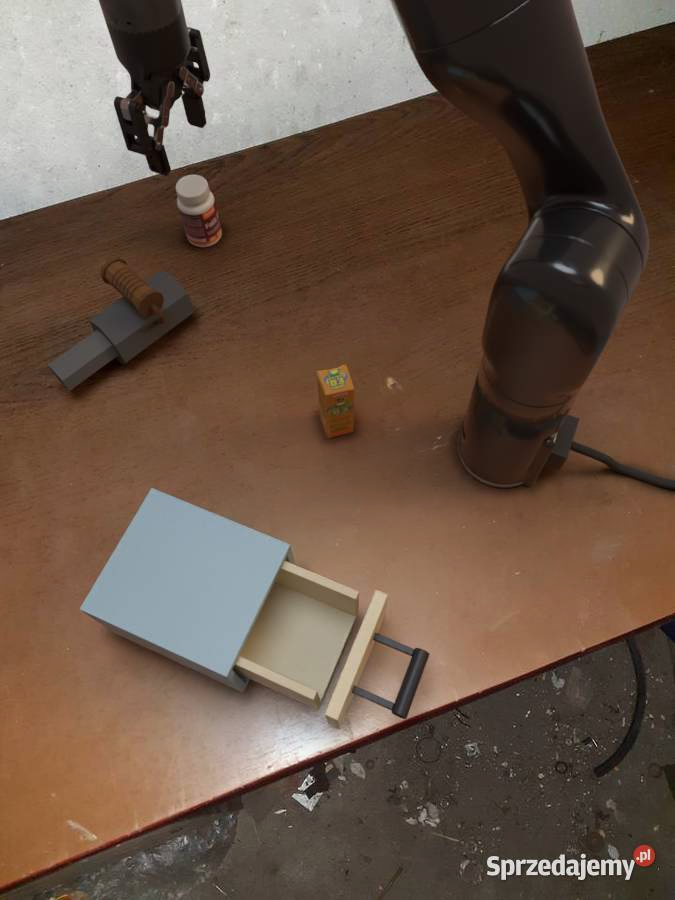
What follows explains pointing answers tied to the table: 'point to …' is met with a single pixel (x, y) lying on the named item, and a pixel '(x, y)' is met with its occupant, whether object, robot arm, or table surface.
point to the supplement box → (336, 400)
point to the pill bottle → (198, 211)
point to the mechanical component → (125, 322)
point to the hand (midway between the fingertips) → (180, 147)
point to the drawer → (320, 644)
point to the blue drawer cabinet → (187, 585)
